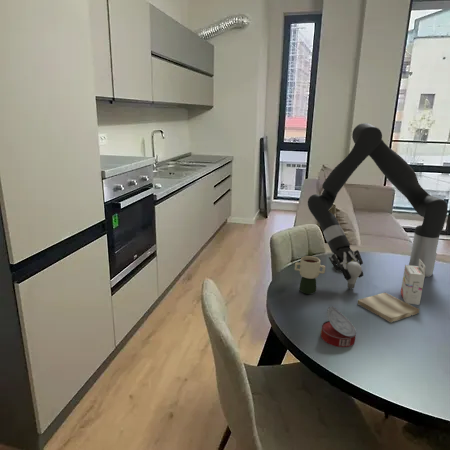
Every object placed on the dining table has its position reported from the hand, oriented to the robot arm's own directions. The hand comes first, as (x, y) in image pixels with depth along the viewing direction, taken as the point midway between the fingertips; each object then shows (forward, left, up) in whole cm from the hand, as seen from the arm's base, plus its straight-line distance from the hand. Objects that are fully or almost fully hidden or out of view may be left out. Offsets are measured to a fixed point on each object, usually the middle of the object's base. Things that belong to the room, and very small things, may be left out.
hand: (355, 277), depth 142 cm
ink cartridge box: (-14, +14, -6) cm, 20 cm away
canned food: (+29, +21, -6) cm, 36 cm away
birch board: (0, +15, -5) cm, 16 cm away
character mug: (+17, -7, -6) cm, 19 cm away
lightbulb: (0, -2, -5) cm, 6 cm away
